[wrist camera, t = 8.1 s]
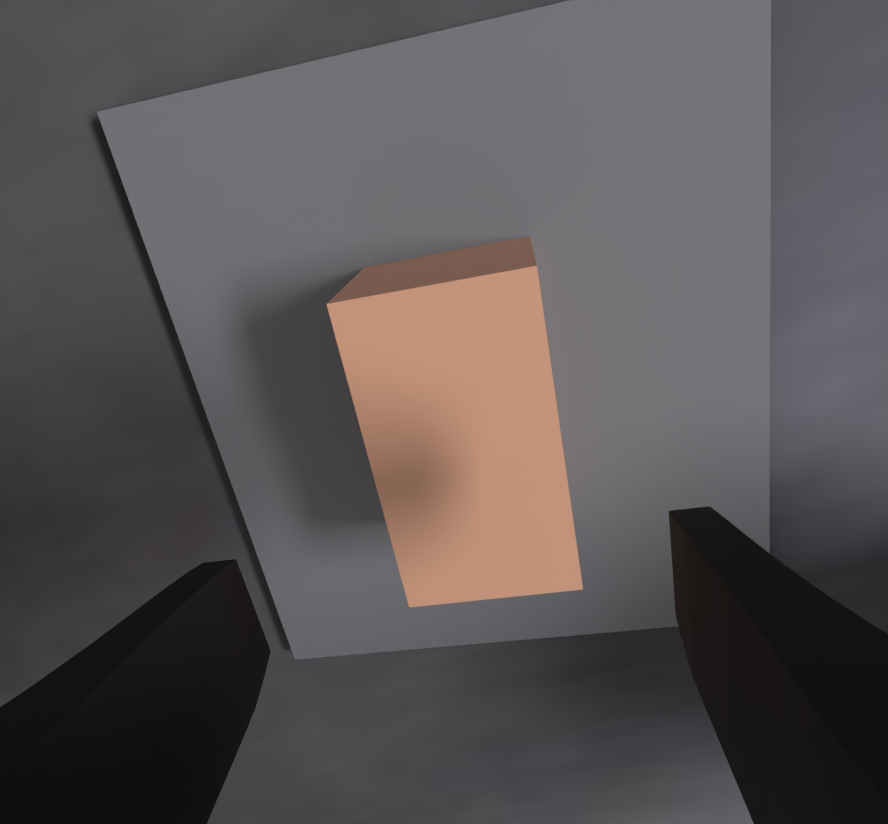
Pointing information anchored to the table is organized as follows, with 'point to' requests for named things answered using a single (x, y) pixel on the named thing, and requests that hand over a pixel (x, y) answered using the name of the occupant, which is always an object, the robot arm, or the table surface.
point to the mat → (468, 225)
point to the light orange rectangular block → (461, 422)
